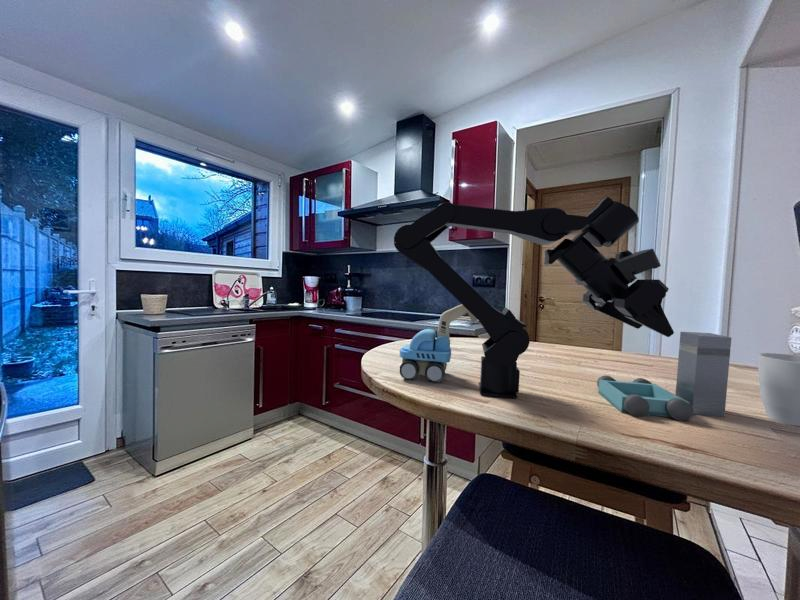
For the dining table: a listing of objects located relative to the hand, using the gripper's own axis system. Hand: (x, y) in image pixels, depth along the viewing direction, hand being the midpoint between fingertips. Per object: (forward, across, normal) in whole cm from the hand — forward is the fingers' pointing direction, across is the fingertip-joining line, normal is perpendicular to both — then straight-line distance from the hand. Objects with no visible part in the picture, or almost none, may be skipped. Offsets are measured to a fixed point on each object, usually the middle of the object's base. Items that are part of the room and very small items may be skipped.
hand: (654, 330), depth 55 cm
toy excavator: (-17, +6, +36) cm, 40 cm away
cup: (+23, -1, -4) cm, 24 cm away
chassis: (+8, 0, +10) cm, 13 cm away
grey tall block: (+15, 0, +4) cm, 15 cm away
